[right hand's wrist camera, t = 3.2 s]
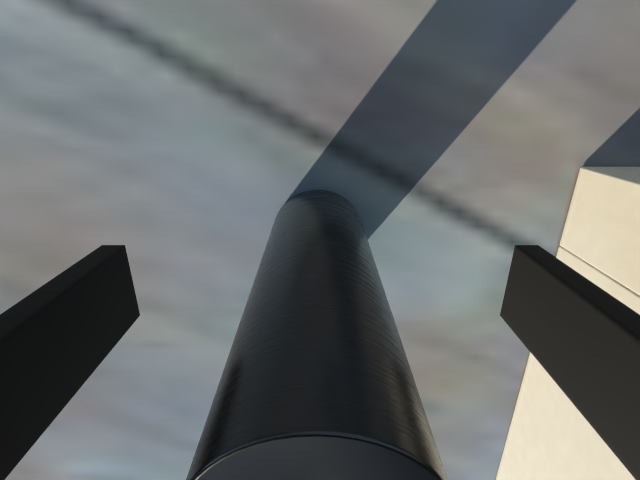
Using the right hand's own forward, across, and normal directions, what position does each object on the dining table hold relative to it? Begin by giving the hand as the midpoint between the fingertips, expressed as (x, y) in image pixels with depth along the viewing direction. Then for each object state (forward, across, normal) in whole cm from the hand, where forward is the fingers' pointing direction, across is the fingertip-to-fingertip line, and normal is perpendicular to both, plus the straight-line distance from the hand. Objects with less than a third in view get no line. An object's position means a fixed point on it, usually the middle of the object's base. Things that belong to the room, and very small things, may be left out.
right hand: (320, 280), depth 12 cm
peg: (+4, 0, 0) cm, 4 cm away
